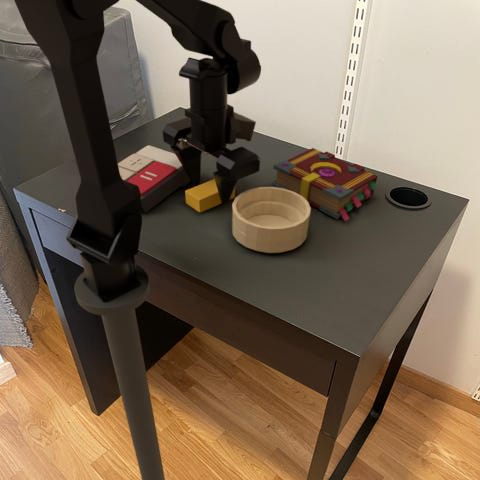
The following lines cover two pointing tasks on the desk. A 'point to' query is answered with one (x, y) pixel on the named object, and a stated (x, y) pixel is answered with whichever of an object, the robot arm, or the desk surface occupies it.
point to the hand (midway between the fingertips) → (210, 194)
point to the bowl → (270, 219)
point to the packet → (204, 196)
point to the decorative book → (325, 181)
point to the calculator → (153, 174)
